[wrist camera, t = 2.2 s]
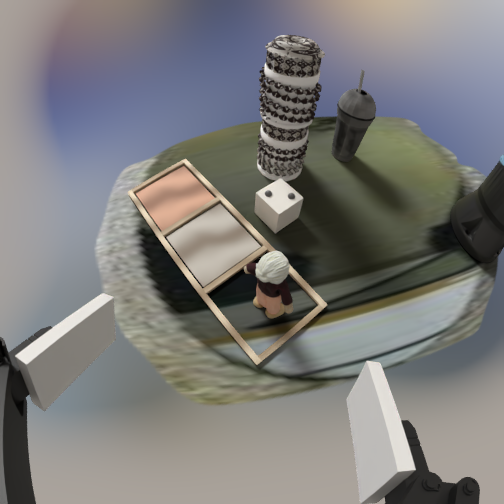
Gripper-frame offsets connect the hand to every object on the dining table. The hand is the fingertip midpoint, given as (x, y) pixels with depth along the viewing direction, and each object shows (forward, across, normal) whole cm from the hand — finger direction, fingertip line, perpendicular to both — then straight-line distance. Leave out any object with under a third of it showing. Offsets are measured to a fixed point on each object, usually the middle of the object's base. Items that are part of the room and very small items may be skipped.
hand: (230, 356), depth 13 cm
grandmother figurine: (+24, +1, -8) cm, 26 cm away
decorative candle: (+43, -2, +10) cm, 44 cm away
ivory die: (+34, 0, +2) cm, 34 cm away
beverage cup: (+48, +10, +16) cm, 51 cm away
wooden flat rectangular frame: (+29, -9, -3) cm, 31 cm away
